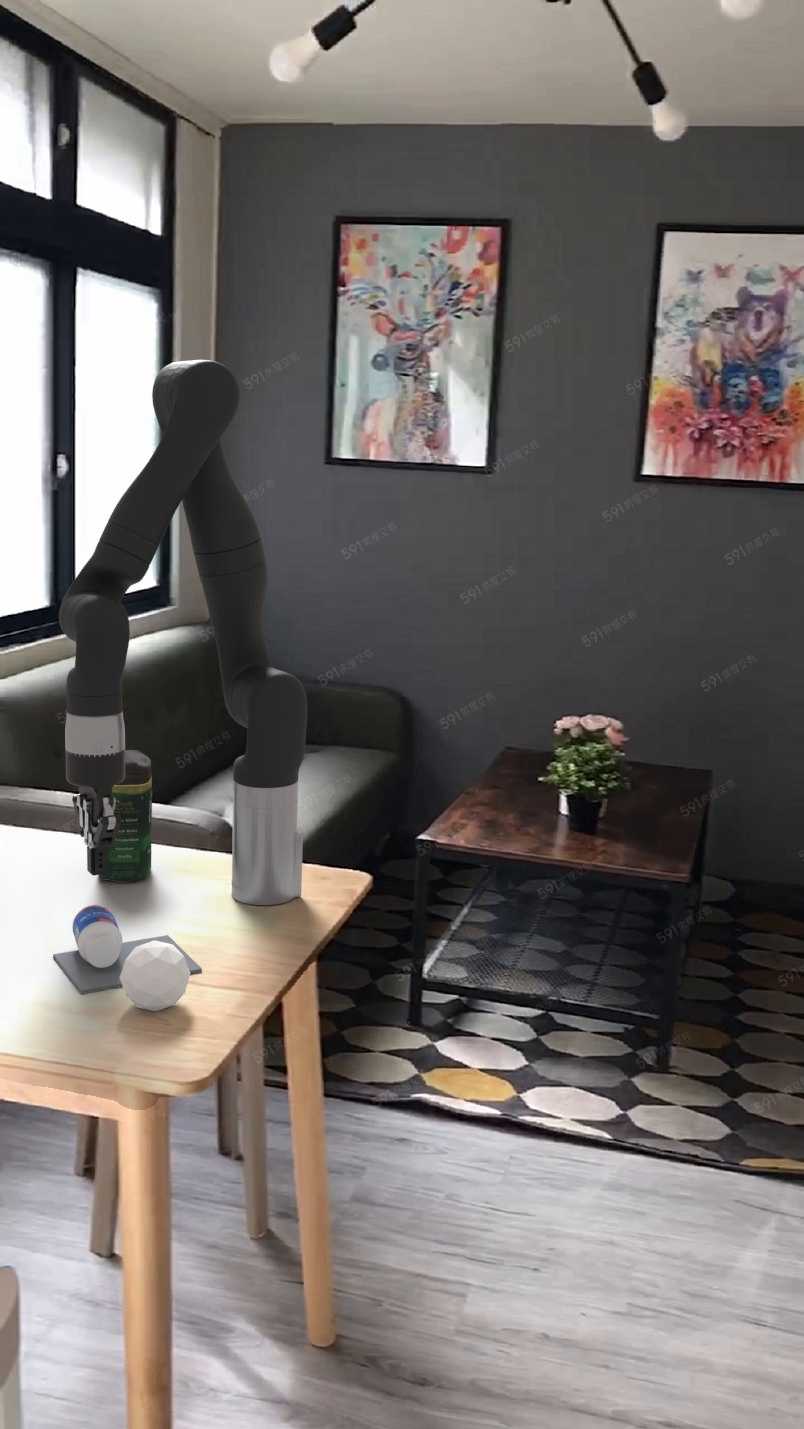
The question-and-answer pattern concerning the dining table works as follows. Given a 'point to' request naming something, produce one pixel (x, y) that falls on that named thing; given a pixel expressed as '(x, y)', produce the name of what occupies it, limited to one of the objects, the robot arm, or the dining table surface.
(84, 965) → the mat
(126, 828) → the coffee jar
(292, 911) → the dining table surface
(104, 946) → the pill bottle
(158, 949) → the geometric ball
